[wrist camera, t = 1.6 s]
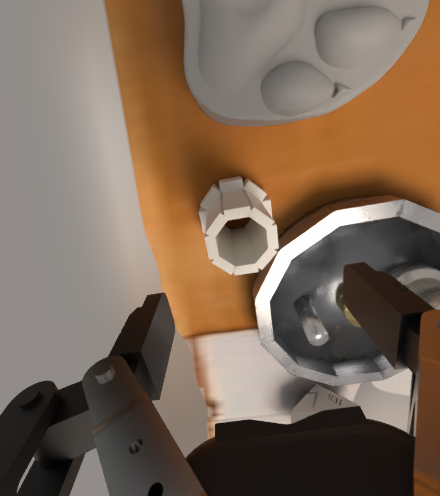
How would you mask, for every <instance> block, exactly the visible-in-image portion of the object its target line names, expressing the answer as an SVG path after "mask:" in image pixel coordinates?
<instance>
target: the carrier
mask: <svg viewBox="0 0 440 496" xmlns="http://www.w3.org/2000/svg"><path fill="white" fill-rule="evenodd" d="M278 245H279V249H276V250H277V253H276V254H275V256H274V257H273V258H272V259H271V260H270V261H269V263H268V264H267V265H266V266H265V267H264V268H263V269H262V270H261V269H260V268H258V271H259V272H257V274H256V278H255V282H254V287H253V289H252V293H253V300H254V308H255V313H256V320H257V327H258V333H259V338H260V342H261V345H262V346H263V347H264V348H265V349H266V350H267V351H268V352H269V353H270V354H271V355H272V356H273V357H274V358H275V359H276V360H277V361H278V362H279V363H280V364H281V365H282V366H283V367H284V368H285V369H286V370H287V371H288V372H289V373H290V374H291V375H295V376H299V377H303V378H306V379H310V380H314V381H317V382H321V383H325V384H328V385H332V386H340V385H348V384H356V383H364V382H372V381H380V380H384V379H387V378H389V377H391V376H393V375H395V374H397V373H399V372H401V371H403V370H405V369H407V368H405V369H398V370H395V369H394V368H393V367H392V366H391V364H390V363H389V362H388V360H387V359H386V358H385V357H384V355H383V354H382V353H381V351H380V350H379V349H378V348H377V346H376V345H375V344H374V342H373V341H372V340H371V339H370V337H369V336H368V335H367V333H366V332H365V331H364V330H363V328H362V327H361V326H360V325H359V323H358V322H357V321H356V319H355V318H354V317H353V316H352V314H351V313H350V312H349V310H348V309H347V307H346V305H345V303H344V298H343V269H344V266H345V265H346V264H352V263H359V262H365V263H367V264H368V265H369V266H370V267H372V268H373V269H374V270H375V271H381V272H383V273H386V274H388V275H391V276H393V277H394V278H395V279H397V280H398V281H399V282H401V284H402V285H405V286H406V287H407V288H409V290H411V291H413V292H414V293H415V294H416V295H418V296H419V297H420V298H422V299H423V300H424V301H426V302H427V303H428V304H430V305H431V306H432V307H433V308H435V309H436V310H440V213H437V212H435V211H432V210H430V209H428V208H425V207H423V206H420V205H418V204H415V203H413V202H410V201H408V200H405V199H402V198H399V197H396V196H393V195H383V196H367V195H366V196H356V197H349V198H345V199H341V200H336V201H334V202H331V203H328V204H325V205H322V206H320V207H318V208H316V209H314V210H312V211H310V212H308V213H307V214H305V215H304V216H302V217H301V218H299V219H298V220H296V221H295V222H294V223H292V224H291V225H290V226H289V227H288V228H286V229H285V230H284V231H283V232H282V233H281V234H280V235H279V236H278Z"/></svg>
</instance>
